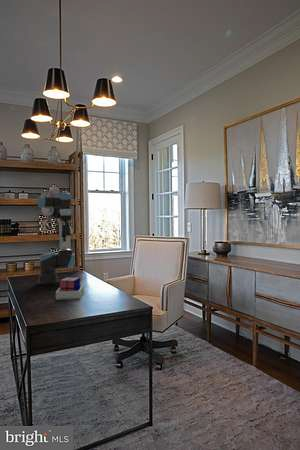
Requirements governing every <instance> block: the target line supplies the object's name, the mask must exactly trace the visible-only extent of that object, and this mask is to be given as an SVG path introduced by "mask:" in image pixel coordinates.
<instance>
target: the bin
mask: <svg viewBox="0 0 300 450" xmlns="http://www.w3.org/2000/svg"><path fill="white" fill-rule="evenodd" d="M84 287H85V286H84V284H80V289H79V291H60V287H59V288H57V290H56V291H55V300H56V301H61V300H64V301H65V299H66V300H81V298H82V296H83V294H84V292H85V291H84V289H85V288H84Z"/></svg>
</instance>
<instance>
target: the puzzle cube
mask: <svg viewBox="0 0 300 450" xmlns="http://www.w3.org/2000/svg"><path fill="white" fill-rule="evenodd" d="M80 285H81V277H65V278H63V279H59V288H60V291H79V289H80Z"/></svg>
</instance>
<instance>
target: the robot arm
mask: <svg viewBox="0 0 300 450" xmlns="http://www.w3.org/2000/svg"><path fill="white" fill-rule="evenodd" d="M71 197H72V196H71V193H69V192H61V193H59V196H38V198H37V204H38V205H37V207H38V208H41V211H40V212H41V214H42V216H45V217H46V218H49V219H56V221H57V222H58V229H59V231H58V233H59V250H58V251H57V253H56V252H52V251H51V252H46V253H43V254H40V256H39V263H40V264H39V266H40V271H39V273H40V274H39V278H38V284H39V285H53V284H57V283H59V277H58V275H57V271H56V270H57V269H58V270H59V269H60V270H61V269H73V268H74V266H75V257H76V254H75V252H74V251H73V249H72V248H71V247H72V246H71V245H72V244H71V241H72V240H71V236H72V233H71V226H70V225H71V221H72V219H73V218H74V212H73V208H72V198H71Z"/></svg>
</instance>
